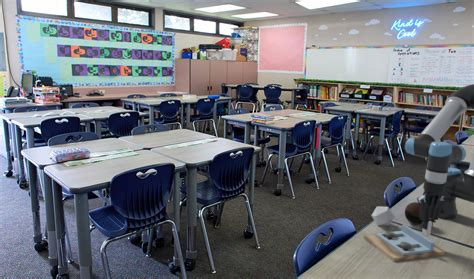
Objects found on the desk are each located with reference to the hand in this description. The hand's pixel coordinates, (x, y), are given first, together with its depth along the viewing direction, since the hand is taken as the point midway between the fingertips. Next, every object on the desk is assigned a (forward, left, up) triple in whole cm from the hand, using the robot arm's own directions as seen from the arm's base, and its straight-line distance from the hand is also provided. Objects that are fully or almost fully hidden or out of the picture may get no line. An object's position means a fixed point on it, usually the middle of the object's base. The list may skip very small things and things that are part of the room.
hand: (425, 235), depth 147 cm
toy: (-10, -18, -4) cm, 21 cm away
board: (+11, 0, -4) cm, 11 cm away
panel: (+11, 0, -2) cm, 11 cm away
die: (+6, -20, -4) cm, 21 cm away
